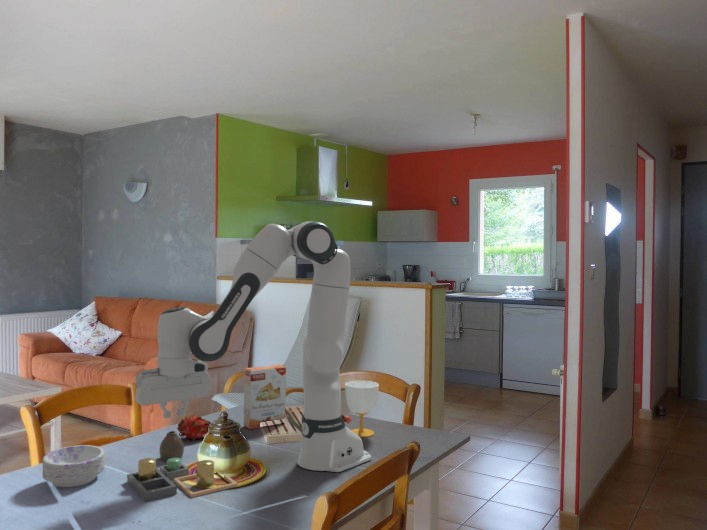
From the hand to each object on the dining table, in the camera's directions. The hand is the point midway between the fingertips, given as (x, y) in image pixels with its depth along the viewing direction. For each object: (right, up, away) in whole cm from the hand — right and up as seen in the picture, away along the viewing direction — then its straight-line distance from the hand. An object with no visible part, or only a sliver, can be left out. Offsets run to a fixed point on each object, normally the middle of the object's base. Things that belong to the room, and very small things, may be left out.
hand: (174, 416), depth 166 cm
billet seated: (-5, -16, -6) cm, 18 cm away
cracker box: (+17, -16, +51) cm, 56 cm away
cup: (+52, -17, +43) cm, 69 cm away
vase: (-5, -17, +13) cm, 22 cm away
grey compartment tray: (-3, -17, -9) cm, 20 cm away
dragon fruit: (-3, -16, +35) cm, 39 cm away
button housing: (0, -17, 0) cm, 17 cm away
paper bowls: (-26, -17, -3) cm, 31 cm away
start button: (0, -15, 0) cm, 15 cm away
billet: (+10, -17, -6) cm, 20 cm away
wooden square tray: (+10, -17, -6) cm, 21 cm away
